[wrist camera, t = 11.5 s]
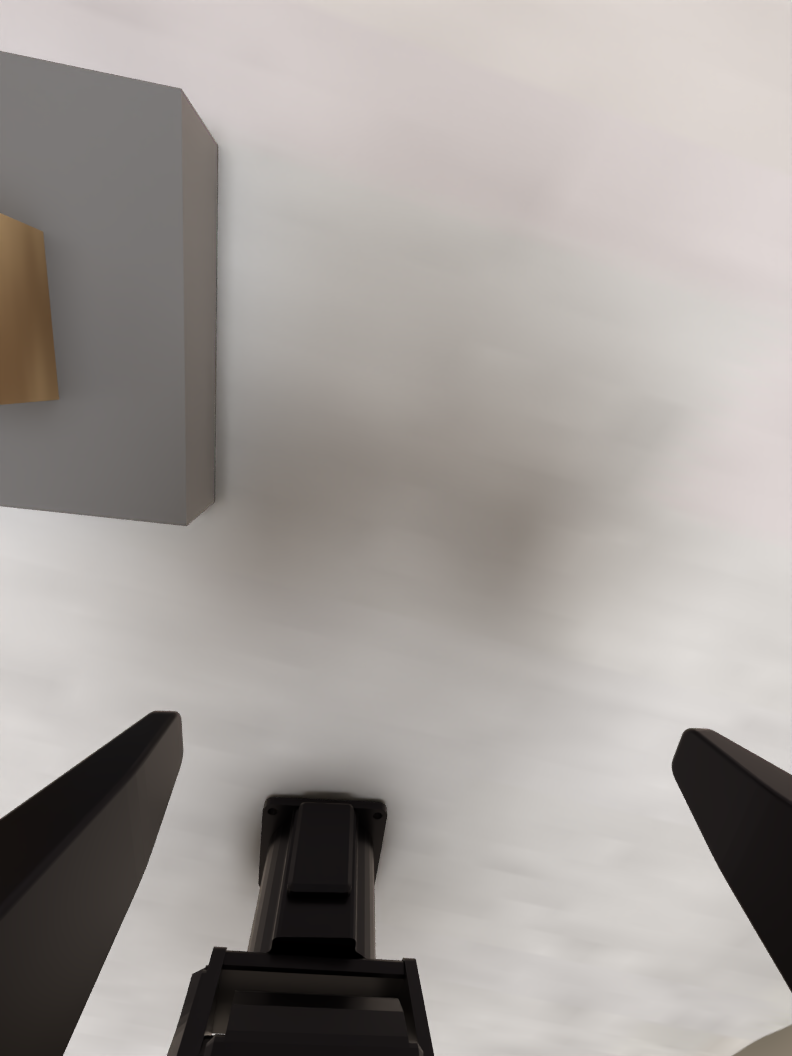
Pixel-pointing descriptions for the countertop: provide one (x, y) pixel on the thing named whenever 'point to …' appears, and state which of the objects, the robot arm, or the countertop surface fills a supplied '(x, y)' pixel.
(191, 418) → the slate base
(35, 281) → the wooden block
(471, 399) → the countertop surface
